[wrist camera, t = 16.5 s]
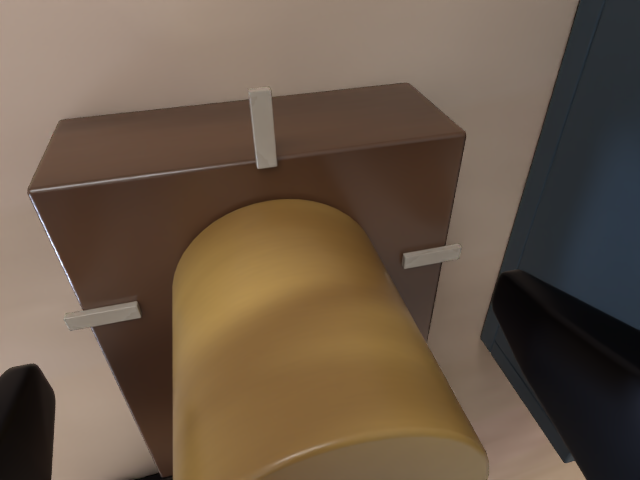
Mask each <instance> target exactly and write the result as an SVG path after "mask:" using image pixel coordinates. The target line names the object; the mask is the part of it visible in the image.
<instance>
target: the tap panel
mask: <svg viewBox="0 0 640 480" xmlns="http://www.w3.org/2000/svg"><path fill="white" fill-rule="evenodd" d="M248 95H249V100H241V101H232V102H223V103H213V104H204V105H195V106H186V107H176V108H167V109H158V110H148V111H139V112H130V113H120V114H111V115H102V116H92V117H83V118H74V119H65V120H60V121H59V122H58V124H57V127H56V129H55V131H54V133H53V135H52V137H51V139H50V142H49V144H48V146H47V148H46V150H45V152H44V155H43V157H42V159H41V161H40V163H39V165H38V168H37V170H36V172H35V174H34V176H33V178H32V181H31V183H30V185H29V187H28V190H27V193H28V195H29V197H30V200H31V202H32V204H33V206H34V208H35V210H36V212H37V214H38V216H39V219H40V221H41V223H42V225H43V227H44V229H45V231H46V233H47V236H48V238H49V240H50V242H51V244H52V246H53V248H54V250H55V253H56V255H57V257H58V259H59V261H60V263H61V265H62V267H63V269H64V272H65V274H66V276H67V278H68V280H69V282H70V284H71V286H72V289H73V291H74V293H75V295H76V297H77V299H78V301H79V303H80V306H81V308H82V310H83V311H78V312H72V313H67V314H65V316H64V321H65V323H66V325H67V326H68V328H69V330H70V331H72V330H78V329H83V328H88V327H91V329H92V331H93V333H94V335H95V337H96V339H97V342H98V344H99V346H100V348H101V350H102V352H103V354H104V356H105V358H106V361H107V363H108V365H109V367H110V369H111V371H112V373H113V375H114V378H115V380H116V382H117V384H118V386H119V388H120V390H121V392H122V395H123V397H124V399H125V401H126V403H127V405H128V407H129V409H130V411H131V414H132V416H133V418H134V420H135V422H136V424H137V426H138V428H139V431H140V433H141V435H142V437H143V439H144V441H145V443H146V445H147V448H148V450H149V452H150V454H151V456H152V458H153V460H154V462H155V464H156V467H157V469H158V471H159V473H160V475H161V477H168V476H172V475H173V327H172V285H173V279H174V274H175V271H176V268H177V265H178V263H179V261H180V259H181V257H182V255H183V253H184V252H185V250H186V249H187V248H188V246H189V245H190V244H191V242H192V241H193V240H194V239H195V238H196V237H197V236H198V235H199V234H200V233H201V232H202V231H203V230H204V229H205V228H207V227H208V226H209V225H211V224H212V223H213V222H215V221H216V220H218V219H220V218H221V217H223V216H225V215H226V214H228V213H231V212H233V211H235V210H237V209H239V208H242V207H245V206H248V205H251V204H254V203H259V202H264V201H268V200H277V199H302V200H310V201H315V202H318V203H322V204H326V205H328V206H331V207H333V208H336V209H338V210H340V211H341V212H343V213H345V214H346V215H348V216H350V217H351V218H352V219H353V220H354V221H356V222H357V223H358V224H359V225H360V226H361V228H362V229H363V230H364V231H365V233H366V234H367V236H368V238H369V239H370V241H371V243H372V245H373V247H374V248H375V250H376V252H377V254H378V256H379V258H380V259H381V261H382V263H383V265H384V267H385V268H386V270H387V272H388V274H389V276H390V278H391V279H392V281H393V283H394V285H395V287H396V289H397V290H398V292H399V294H400V296H401V298H402V300H403V301H404V303H405V305H406V307H407V309H408V310H409V312H410V314H411V316H412V318H413V320H414V321H415V323H416V325H417V327H418V329H419V331H420V332H421V334H422V336H423V338H424V340H425V342H426V343H427V339H428V334H429V328H430V323H431V318H432V313H433V307H434V302H435V297H436V292H437V286H438V281H439V276H440V271H441V266H442V262H445V261H451V260H456V259H459V258H460V253H461V249H462V247H461V246H460V244H453V245H448V246H445V245H446V239H447V234H448V229H449V224H450V218H451V213H452V208H453V203H454V198H455V192H456V187H457V182H458V177H459V171H460V166H461V161H462V156H463V150H464V145H465V140H466V133H465V131H464V130H463V129H461V128H460V127H459V126H458V125H457V124H456V123H454V122H453V121H452V120H451V119H450V118H449V117H447V116H446V115H445V114H444V113H443V112H442V111H441V110H439V109H438V108H437V107H436V106H435V105H434V104H432V103H431V102H430V101H429V100H428V99H427V98H426V97H424V96H423V95H422V94H421V93H420V92H419V91H417V90H416V89H415V88H414V87H413V86H412V85H410V84H409V83H400V84H390V85H381V86H372V87H362V88H353V89H344V90H335V91H325V92H316V93H307V94H297V95H288V96H279V97H272V94H271V89H270V87H262V88H252V89H248Z"/></svg>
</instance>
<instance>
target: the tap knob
mask: <svg viewBox="0 0 640 480" xmlns="http://www.w3.org/2000/svg"><path fill="white" fill-rule="evenodd" d="M172 327H173V480H487V479H488V475H489V461H488V457H487V454H486V451H485V449H484V447H483V446H482V444H481V442H480V440H479V438H478V436H477V435H476V433H475V431H474V429H473V427H472V425H471V424H470V422H469V420H468V418H467V416H466V415H465V413H464V411H463V409H462V407H461V405H460V404H459V402H458V400H457V398H456V396H455V394H454V393H453V391H452V389H451V387H450V385H449V383H448V382H447V380H446V378H445V376H444V374H443V373H442V371H441V369H440V367H439V365H438V363H437V362H436V360H435V358H434V356H433V354H432V352H431V351H430V349H429V347H428V345H427V343H426V342H425V340H424V338H423V336H422V334H421V332H420V331H419V329H418V327H417V325H416V323H415V321H414V320H413V318H412V316H411V314H410V312H409V310H408V309H407V307H406V305H405V303H404V301H403V300H402V298H401V296H400V294H399V292H398V290H397V289H396V287H395V285H394V283H393V281H392V279H391V278H390V276H389V274H388V272H387V270H386V268H385V267H384V265H383V263H382V261H381V259H380V258H379V256H378V254H377V252H376V250H375V248H374V247H373V245H372V243H371V241H370V239H369V238H368V236H367V234H366V233H365V231H364V230H363V229H362V228H361V226H360V225H359V224H358V223H357V222H356V221H354V220H353V219H352V218H351V217H350V216H348V215H346V214H345V213H343V212H341V211H340V210H338V209H336V208H333V207H331V206H328V205H326V204H322V203H318V202H315V201H310V200H302V199H277V200H268V201H264V202H259V203H254V204H251V205H248V206H245V207H242V208H239V209H237V210H235V211H233V212H231V213H228V214H226V215H225V216H223V217H221V218H220V219H218V220H216V221H215V222H213V223H212V224H211V225H209V226H208V227H207V228H205V229H204V230H203V231H202V232H201V233H200V234H199V235H198V236H197V237H196V238H195V239H194V240H193V241H192V242H191V244H190V245H189V246H188V248H187V249H186V250H185V252H184V253H183V255H182V257H181V259H180V261H179V263H178V265H177V268H176V271H175V274H174V279H173V285H172Z"/></svg>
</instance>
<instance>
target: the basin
mask: <svg viewBox="0 0 640 480" xmlns="http://www.w3.org/2000/svg"><path fill="white" fill-rule="evenodd" d="M516 269H519V270H523V271H525V272H527V273H529V274H531V275H533V276H535V277H537V278H539V279H540V280H542V281H544V282H546V283H548V284H550V285H552V286H554V287H556V288H558V289H560V290H562V291H564V292H566V293H568V294H570V295H572V296H574V297H576V298H578V299H580V300H581V301H583V302H585V303H587V304H589V305H591V306H593V307H595V308H597V309H599V310H601V311H603V312H605V313H607V314H609V315H611V316H613V317H615V318H617V319H619V320H620V321H622V322H624V323H626V324H628V325H630V326H632V327H634V328H636V329H638V330H640V0H580V3H579V6H578V10H577V13H576V16H575V20H574V23H573V27H572V30H571V33H570V37H569V40H568V43H567V47H566V50H565V54H564V57H563V60H562V64H561V67H560V70H559V74H558V77H557V81H556V84H555V87H554V91H553V94H552V97H551V101H550V104H549V108H548V111H547V114H546V118H545V121H544V124H543V128H542V131H541V135H540V138H539V141H538V145H537V148H536V151H535V155H534V158H533V162H532V165H531V168H530V172H529V175H528V178H527V182H526V185H525V189H524V192H523V195H522V199H521V202H520V205H519V209H518V212H517V216H516V219H515V222H514V226H513V229H512V232H511V236H510V239H509V243H508V246H507V249H506V253H505V256H504V259H503V263H502V266H501V270H500V273H499V275H500V274H501V273H502V272H506V271H511V270H516ZM498 277H499V276H498ZM481 340H482V341H483V343H484V344H485V346H486V347H487V349H488V350H489V352H491V355H492V356H493V358H494V359H495V361H496V362H497V364H498V365H499V367H500V368H501V370H502V371H503V373H504V374H505V376H506V377H507V379H508V380H509V382H510V383H511V385H512V386H513V388H514V389H515V391H516V392H517V394H518V395H519V397H520V398H521V400H522V401H523V403H524V404H525V406H526V407H527V408H528V410H529V411H530V413H531V414H532V416H533V417H534V419H535V420H536V422H537V423H538V425H539V426H540V428H541V429H542V431H543V432H544V434H545V435H546V437H547V438H548V440H549V441H550V443H551V444H552V446H553V447H554V449H555V450H556V452H557V453H558V455H559V456H560V458H561V459H562V461H563V462H564V463H568V462H572V461H575V460H574V458H573V456H572V455H571V453H570V451H569V450H568V448H567V447H566V445H565V443H564V442H563V440H562V438H561V437H560V435H559V433H558V432H557V430H556V428H555V427H554V425H553V423H552V422H551V420H550V418H549V417H548V415H547V413H546V412H545V410H544V408H543V407H542V405H541V403H540V402H539V400H538V398H537V397H536V395H535V393H534V392H533V390H532V388H531V387H530V385H529V383H528V382H527V380H526V378H525V376H524V375H523V373H522V371H521V369H520V367H519V365H518V363H517V361H516V359H515V357H514V355H513V352H512V350H511V348H510V346H509V344H508V342H507V340H506V337H505V335H504V333H503V331H502V329H501V327H500V325H499V322H498V320H497V318H496V316H495V314H494V312H493V309H492V300H491V303H490V307H489V310H488V313H487V317H486V320H485V324H484V327H483V330H482V334H481Z"/></svg>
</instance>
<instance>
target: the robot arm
mask: <svg viewBox="0 0 640 480" xmlns="http://www.w3.org/2000/svg"><path fill="white" fill-rule="evenodd" d="M492 309H493V312H494V314H495V316H496V318H497V320H498V322H499V325H500V327H501V329H502V331H503V333H504V335H505V337H506V340H507V342H508V344H509V346H510V348H511V350H512V352H513V355H514V357H515V359H516V361H517V363H518V365H519V367H520V369H521V371H522V373H523V375H524V376H525V378H526V380H527V382H528V383H529V385H530V387H531V388H532V390H533V392H534V393H535V395H536V397H537V398H538V400H539V402H540V403H541V405H542V407H543V408H544V410H545V412H546V413H547V415H548V417H549V418H550V420H551V422H552V423H553V425H554V427H555V428H556V430H557V432H558V433H559V435H560V437H561V438H562V440H563V442H564V443H565V445H566V447H567V448H568V450H569V451H570V453H571V455H572V456H573V458H574V460H575V461H576V463H577V465H578V466H579V468H580V470H581V471H582V473H583V475H584V476H585V478H586V480H640V330H638V329H636V328H634V327H632V326H630V325H628V324H626V323H624V322H622V321H620V320H619V319H617V318H615V317H613V316H611V315H609V314H607V313H605V312H603V311H601V310H599V309H597V308H595V307H593V306H591V305H589V304H587V303H585V302H583V301H581V300H580V299H578V298H576V297H574V296H572V295H570V294H568V293H566V292H564V291H562V290H560V289H558V288H556V287H554V286H552V285H550V284H548V283H546V282H544V281H542V280H540V279H539V278H537V277H535V276H533V275H531V274H529V273H527V272H525V271H523V270H519V269H516V270H511V271H506V272H502V273H501V274H500V275H499V277H498V280H497V283H496V286H495V290H494V293H493V296H492ZM54 421H55V394H54V391H53V389H52V387H51V386H50V384H49V382H48V381H47V379H46V378H45V376H44V374H43V373H42V371H41V370H40V368H39V367H38V366H37V365H36V364H26V365H21V366H16V367H12V368H9V369H8V370H6V371H5V372H4V373H3V374H2V376H1V377H0V480H51V475H52V458H53V440H54ZM136 480H173V475H172V476H168V477H161V475H160V474H157V475H153V476H149V477H145V478H141V479H136Z"/></svg>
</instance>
